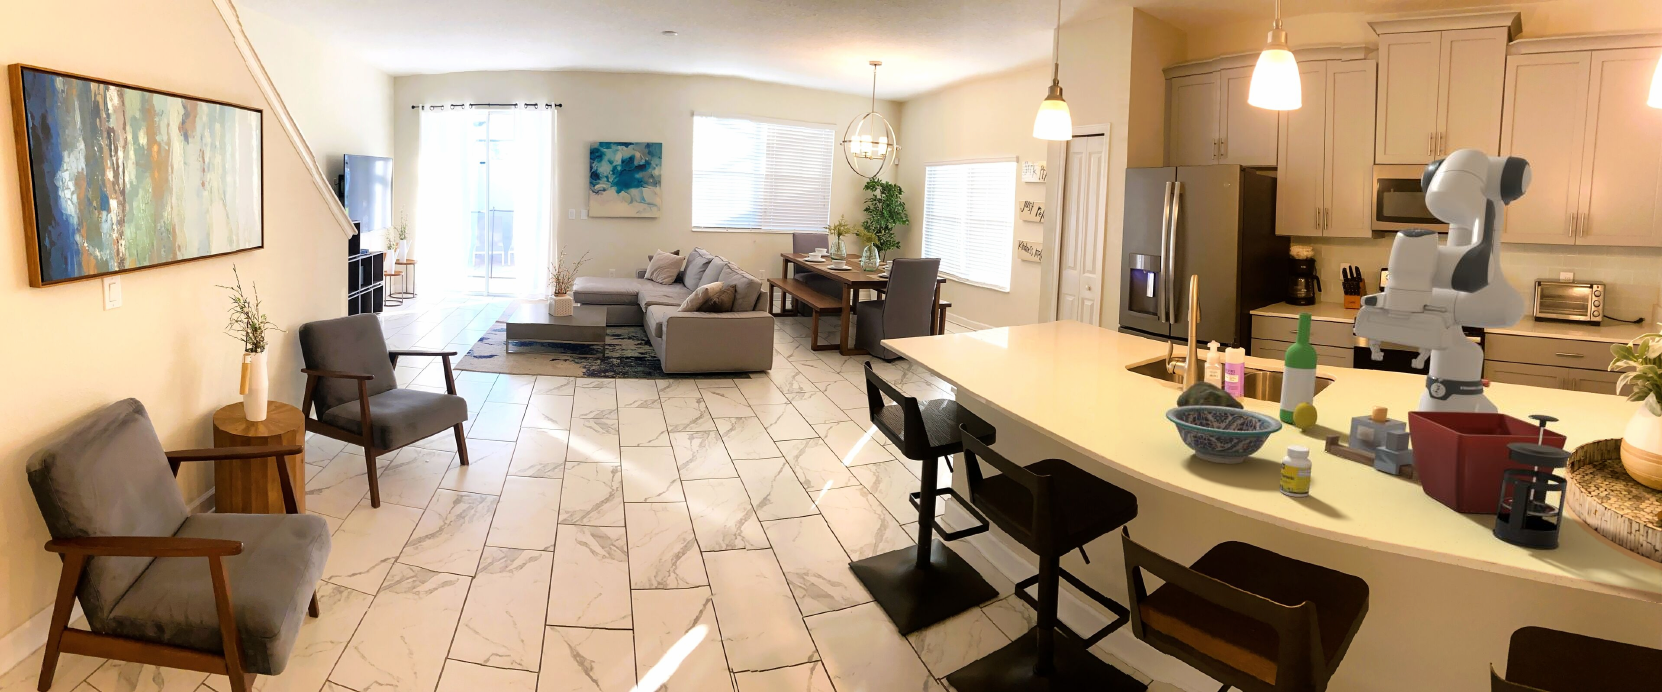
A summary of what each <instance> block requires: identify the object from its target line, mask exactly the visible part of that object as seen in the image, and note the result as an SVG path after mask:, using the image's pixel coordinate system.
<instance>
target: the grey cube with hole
mask: <svg viewBox="0 0 1662 692" xmlns="http://www.w3.org/2000/svg"><path fill="white" fill-rule="evenodd" d="M1350 421H1351V422H1350V429H1349V430H1350V431H1349V440H1348V447H1351V448H1355V449H1358V450H1361V451H1365V452H1368V453H1372V454H1375V453H1376V448H1377V447H1384V446H1386V439H1387V432H1388V431H1395V430H1402V431H1406V430H1407V422H1406V421H1402V420H1398V419H1394V418H1390V417H1387V419H1386V422H1377V421H1373V420H1372V414H1369V415H1361V416H1352V417H1351V419H1350ZM1406 432H1407V431H1406Z"/></svg>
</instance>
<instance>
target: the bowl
mask: <svg viewBox="0 0 1662 692" xmlns="http://www.w3.org/2000/svg"><path fill="white" fill-rule="evenodd" d="M1165 418H1166V419H1168V421H1170V422H1171V423H1174V425H1175V427H1176V429H1177V432H1178V434H1179V436H1180V439H1181V440H1182V442H1183V443H1184V444H1185V445H1186V446H1187V447H1188V448H1190V449H1191V450H1193V451H1194V454H1195V456H1196V457H1197V458H1198V459H1201V460H1204V461H1206V462H1210V461H1211V463H1215V462H1216V463H1217V464H1224V463H1225V464H1226V465H1228V464H1229V465H1230V464H1231V465H1232V464H1240V463H1243V462H1244V461H1245V457H1249V456H1252V455H1254V454H1255V453H1257V452H1258V451H1259V450H1260V449H1262V447H1263V446H1264V444H1265V443H1266V441H1267V440H1268V438H1269V437H1270V436H1271V435H1272V434H1275V433H1277V432H1280V431H1281V430H1282V429H1283V424H1282V422H1281V421H1279V420H1278V419H1277V418H1275V417H1273V416H1271V415H1268V414H1265V413H1261V412H1256V411H1252V410H1248V409H1237V408H1229V407H1219V406H1183V407H1178V406H1177V407H1174V408H1171V409H1168V410H1167V411H1166V413H1165Z"/></svg>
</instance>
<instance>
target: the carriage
mask: <svg viewBox="0 0 1662 692" xmlns="http://www.w3.org/2000/svg"><path fill="white" fill-rule="evenodd" d="M1409 444H1410V432H1409V431H1402V430H1395V431H1388V432H1387V439H1386V446H1384V447H1377V448H1376V453H1375V461H1374V467H1373V469H1376V470H1379V471H1383V472H1385V473H1388V474H1392V475H1398V474H1399V467H1400V465H1406V464H1409V465H1412V466H1414V461H1415V460H1414V456H1413V451H1412V448H1409V446H1410V445H1409Z"/></svg>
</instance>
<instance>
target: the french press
mask: <svg viewBox="0 0 1662 692" xmlns="http://www.w3.org/2000/svg"><path fill="white" fill-rule="evenodd" d="M1528 419H1531V420H1534V421H1539V423H1538V426H1539V427H1541V430H1540V436H1539V443H1538V444H1532V443H1510V444H1507V448H1508V449H1510V450H1509V459H1511V460H1513V461H1516V462H1518V463H1522V464H1526V465H1531V466H1535V469H1534V470H1531V469H1522V468H1509V469H1505V470H1503V476H1502V483H1501V490H1500V497H1499V504H1498V510H1497V514H1496V517H1495V525H1494V526H1495V527H1494V528H1493V530H1492V535H1493V536H1494V538H1497V539H1498V540H1501V541H1503V542H1506V543H1508V544H1512V545H1514V546H1517V547H1522V548H1527V549H1534V550H1541V551H1542V550H1544V551H1545V550H1546V551H1547V550H1548V551H1549V550H1556V549H1558V548H1560V542H1559V537H1560V531H1561V525H1562V520H1563V519H1562V518H1563V513H1564V506H1565V505H1564V504H1565V501H1566V494H1567V487H1568V480H1567V479H1566V478H1564V477H1563V476H1560V475H1558V474H1554V473H1552V474H1551V473H1547V472H1543V471H1538V470H1537V467H1544V468H1555V469H1563V468H1566V467H1567V466H1568V459H1570V458H1572V457H1573V456H1572V455H1573V454H1572V453H1571V452H1569V451H1567V450H1564V449H1563V450H1562V449H1559V448H1555V447H1551V446H1546V445H1541V440H1542V434H1543V428H1545V429H1546V427H1547V422H1548V423H1549V422H1550V423H1552V422H1553V423H1556V422H1559V421H1560V420H1559V419H1558V418H1557V417H1554V416H1551V415H1545V414H1531V415H1530V414H1529V415H1528ZM1510 475H1521V476H1530V477H1533V482H1531V481H1526V480H1522V479H1518V478H1515V477H1512V476H1510ZM1536 477H1537V479H1536ZM1535 480H1536V482H1535ZM1549 481H1550V482H1553V483H1549ZM1506 482H1508V483H1510V484H1513V485H1514V492H1513V498H1504V494H1505V487H1506ZM1530 489H1531V496H1530ZM1534 490H1535V492H1534ZM1547 492H1561V493H1560V498H1559V504H1558V507H1557V506H1555V505H1552V504H1550V503H1546V500H1547ZM1533 493H1534V498H1533ZM1529 496H1530V499H1529ZM1503 506H1504V507H1505V508H1507V509H1509V510H1511V512H1510V513H1502V508H1503ZM1555 517H1557V518H1556V523H1555V522H1554V521H1551V520H1549V519H1545V518H1555Z"/></svg>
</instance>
